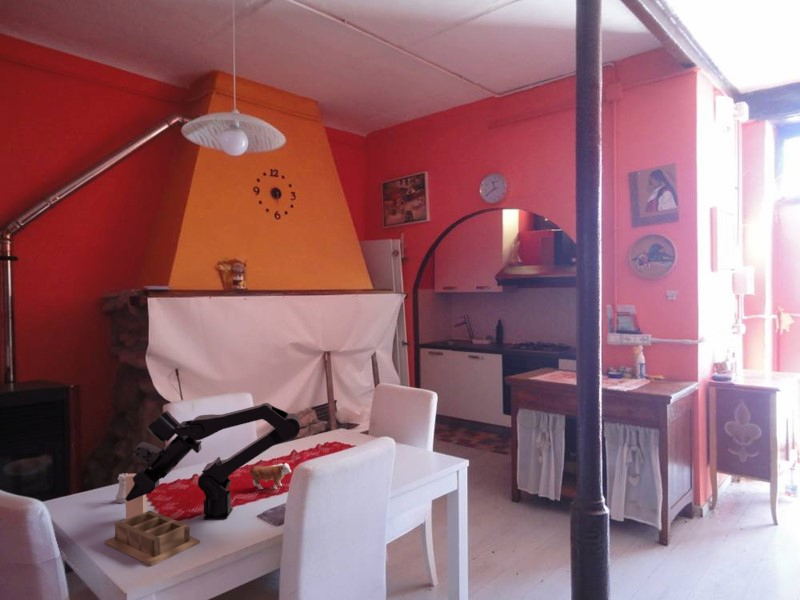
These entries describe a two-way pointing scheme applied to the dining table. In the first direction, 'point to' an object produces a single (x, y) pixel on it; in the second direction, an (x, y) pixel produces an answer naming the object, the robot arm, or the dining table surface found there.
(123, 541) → the wooden compartment tray
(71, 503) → the dining table surface
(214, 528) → the dining table surface
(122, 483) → the rook chess piece
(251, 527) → the dining table surface
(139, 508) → the tan rectangular block
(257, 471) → the bull figurine
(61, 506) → the dining table surface
